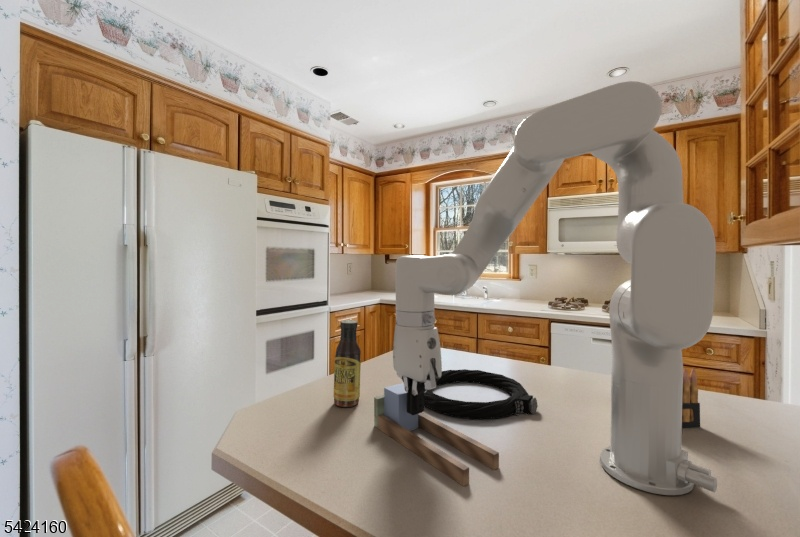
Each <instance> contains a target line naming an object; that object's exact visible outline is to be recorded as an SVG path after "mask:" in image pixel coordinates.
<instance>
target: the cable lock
mask: <svg viewBox="0 0 800 537" xmlns="http://www.w3.org/2000/svg"><path fill="white" fill-rule="evenodd" d="M435 381H436V387H437V386H441V385H445V384H451V383H454V384H455V383H470V384H471V383H475V384H476V383H477V384H480V385H481V384H482V385H487V386H493V387H495V388H497V389H501V390H505V391H506V392H508V394H509V395H511V396H509V397H507V398H505V399H500V400H493V401H485V402H483V401H463V400H458V399H451V398H448V397H444V396H442V395H438V394H436V393H434V392H432V391H431V390H428V389H427V391H426V392H425V393H424V407H425V408H426V407H427V408H429V409H431V410H433V411H435V412H436V413H438V414H444V415H447V416H450V417H455V418H462V419H463V418H464V419H465V418H466V419H470V420H471V419H472V420H487V419H489V420H490V419H500V418H506V417H508V416H509V417H510V416H511V415H514V416H519V415H522V414H525V415H530V414H532V415H536V413H537V410H538V407H539V406H538V400H537V397H534V395H533V394H532V395H530V394H529V393H528V392H527V390H526V389H525V388H524V385H522V384H521V383H520V382H518V381H517V380H515V379H514V378H510V377H508V376H505V375H504V374H499V373H495V372H489V371H483V370H479V369H475V370H474V369H466V368H465V369H464V368H463V369H448V370H444V371H443V370H442V375H441V377H440V378H435ZM419 384H420V383H419Z"/></svg>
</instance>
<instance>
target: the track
mask: <svg viewBox="0 0 800 537" xmlns="http://www.w3.org/2000/svg"><path fill="white" fill-rule="evenodd" d="M373 400H374V401H373V403H374V404H373V406H374V407H373V408H374V409H373V410H374V412H373V415H374V418H373V419H374V420H373V423H374V427H376V429H379V431H381V432H382V433H384V434H385V435H387V436H388V437H390V438H392V439H393V440H395V442H397V443H399V444H401V445H402V446H404V447H405V448H407V449H408V450H409V451H411V452H412V453H414V454H415V455H417V456H418V457H420V458H421V459H423V460H424V461H425V462H427V463H428V464H430V465H431V466H433V467H434V468H436V469H437V470H438V471H440V472H442V473H444V475H446V476H447V477H449V478H451V479H453V481H455V482H456V483H458V484H460V485H461V486H462V487H465V486H467V485H469V484H470V467H469V466H467V465H466V464H464V463H463V462H461V461H459V460H457V459H456V458H455V457H453V456H451V455H449V454H448V453H446V452H444V451H443V450H442V449H440V448H438V447H436V446H435V445H434V444H432V443H430V442H429V441H426V440H424V438H421V437H420V436H418V435H416V434H415V433H413V432H412V431H409V430H407V429H405V428H404V427H402V426H400V425H399V424H397V423H395V422H394V421H392V420H390V419H389V418H387V417H386V416H384V394H382V395H379V396H375V397H374V398H373ZM418 428H419V429H420V428H421V429H422V430H424V431H426V432H427V433H429V434H431V435H433V436H434V437H437V438H438V439H440V440H441V441H443V442H445V443H446V444H448V445H449V446H452V447H453V448H456V450H459V451H460V452H463V453H464V454H466V455H468V456H469V457H471V458H472V459H475V460H476V461H478V462H479V463H481V464H483V465H485V466H487V467H488V468H490V469H492V470H497V469H498V468H500V452H498V451H497V450H495V449H493V448H491V447H489V446H487V445H485V444H483V443H481V442H479V441H478V440H476V439H473V438H472V437H469V436H468V435H466V434H464V433H463V432H460V431H458V430H456V429H454V428H453V427H451V426H448V425H447V424H445V423H444V422H441V421H439V420H438V419H436V418H434V417H431V416H430V415H427V414H426V413H424V412H422V413H419V414H418Z"/></svg>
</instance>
